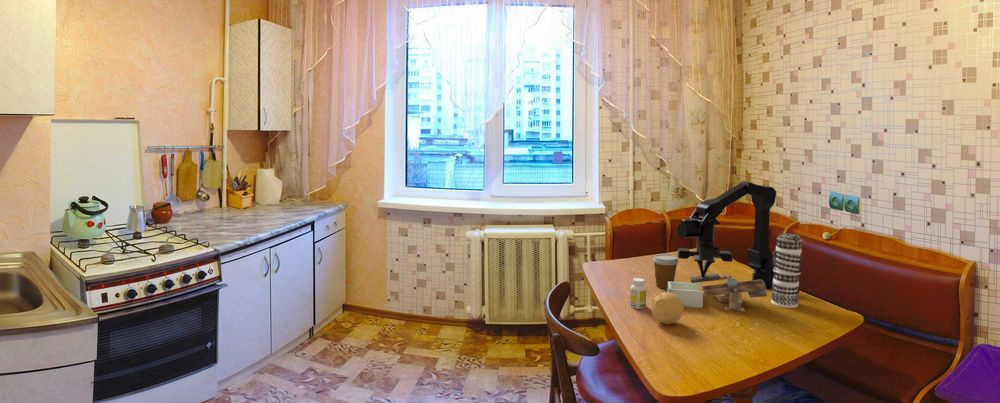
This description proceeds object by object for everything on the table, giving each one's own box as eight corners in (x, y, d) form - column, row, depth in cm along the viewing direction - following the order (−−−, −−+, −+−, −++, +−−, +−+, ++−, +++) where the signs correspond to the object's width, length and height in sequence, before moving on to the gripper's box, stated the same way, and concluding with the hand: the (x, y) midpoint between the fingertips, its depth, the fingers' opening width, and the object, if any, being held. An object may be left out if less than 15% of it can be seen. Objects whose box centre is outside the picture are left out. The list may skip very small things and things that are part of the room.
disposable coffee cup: (678, 291, 192) (680, 260, 191) (653, 289, 194) (654, 259, 192) (675, 283, 202) (676, 254, 200) (650, 282, 203) (651, 253, 202)
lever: (756, 281, 186) (754, 269, 185) (769, 298, 168) (766, 284, 167) (692, 288, 192) (690, 276, 192) (697, 306, 174) (695, 292, 174)
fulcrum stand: (740, 298, 183) (741, 283, 182) (747, 311, 170) (748, 294, 169) (716, 297, 185) (717, 281, 184) (722, 309, 172) (723, 293, 172)
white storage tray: (699, 299, 183) (700, 283, 182) (702, 308, 174) (703, 291, 173) (667, 296, 186) (667, 281, 185) (668, 305, 177) (669, 289, 176)
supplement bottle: (646, 304, 178) (647, 278, 177) (645, 309, 173) (646, 282, 172) (630, 303, 180) (631, 276, 179) (629, 308, 175) (630, 281, 174)
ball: (724, 284, 177) (734, 288, 176) (725, 287, 174) (735, 291, 173) (729, 275, 176) (738, 279, 176) (730, 278, 173) (740, 282, 172)
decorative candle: (764, 299, 182) (768, 232, 178) (788, 298, 183) (793, 231, 179) (780, 308, 173) (785, 238, 169) (805, 307, 174) (811, 237, 170)
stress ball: (683, 323, 163) (666, 297, 169) (694, 309, 156) (676, 282, 162) (657, 332, 161) (641, 306, 166) (667, 318, 153) (650, 291, 159)
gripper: (680, 239, 181) (678, 281, 183) (736, 242, 176) (733, 285, 179) (678, 233, 192) (676, 272, 194) (731, 236, 187) (728, 276, 189)
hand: (702, 276), depth 189 cm, fingers closed
